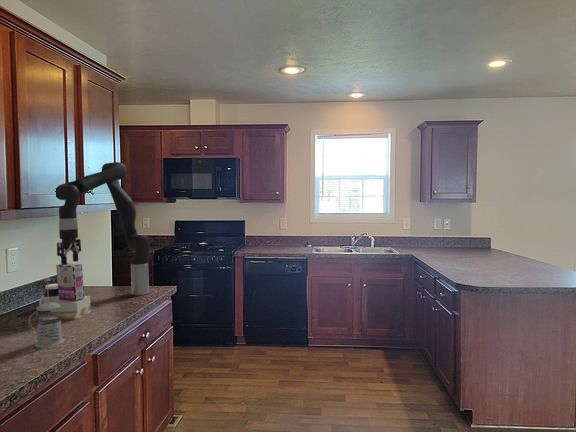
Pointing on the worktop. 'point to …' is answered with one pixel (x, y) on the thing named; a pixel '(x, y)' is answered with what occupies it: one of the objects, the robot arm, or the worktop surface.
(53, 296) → the spread jar
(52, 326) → the french press
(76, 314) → the maple block
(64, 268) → the candy bar box
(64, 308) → the sage block
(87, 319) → the worktop surface
